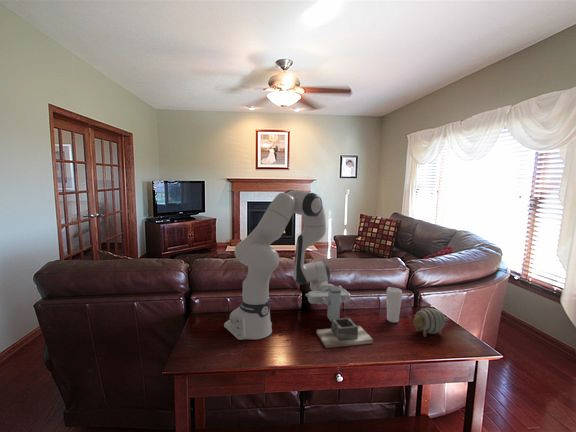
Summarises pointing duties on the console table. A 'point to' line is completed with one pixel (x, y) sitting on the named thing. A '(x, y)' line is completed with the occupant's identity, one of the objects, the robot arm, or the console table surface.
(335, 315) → the grey tall block
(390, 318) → the drinking glass
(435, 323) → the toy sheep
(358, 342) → the post socket
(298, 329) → the console table surface
